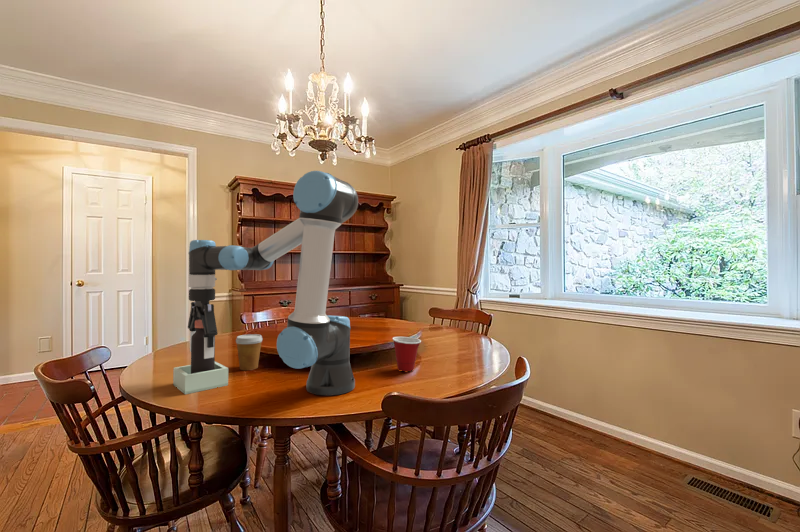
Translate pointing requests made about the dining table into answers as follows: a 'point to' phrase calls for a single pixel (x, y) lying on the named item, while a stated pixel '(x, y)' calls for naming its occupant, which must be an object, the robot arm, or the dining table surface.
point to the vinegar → (200, 351)
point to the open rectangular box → (199, 378)
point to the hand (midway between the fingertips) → (201, 354)
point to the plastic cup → (406, 352)
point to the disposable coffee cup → (248, 351)
